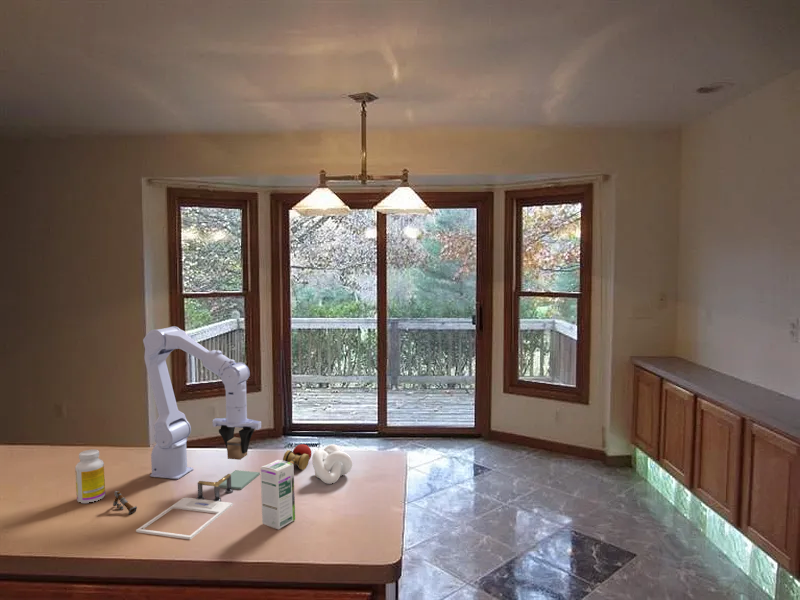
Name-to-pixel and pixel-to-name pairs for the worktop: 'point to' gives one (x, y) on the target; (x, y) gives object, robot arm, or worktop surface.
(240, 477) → the mat
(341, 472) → the white knot sculpture
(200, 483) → the brass corner rail
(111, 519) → the worktop surface
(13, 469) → the worktop surface
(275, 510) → the syrup box
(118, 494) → the wooden post with brackets
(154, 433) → the robot arm
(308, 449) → the kendama
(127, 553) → the worktop surface
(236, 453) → the walnut block
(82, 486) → the supplement bottle
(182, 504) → the white flat frame
